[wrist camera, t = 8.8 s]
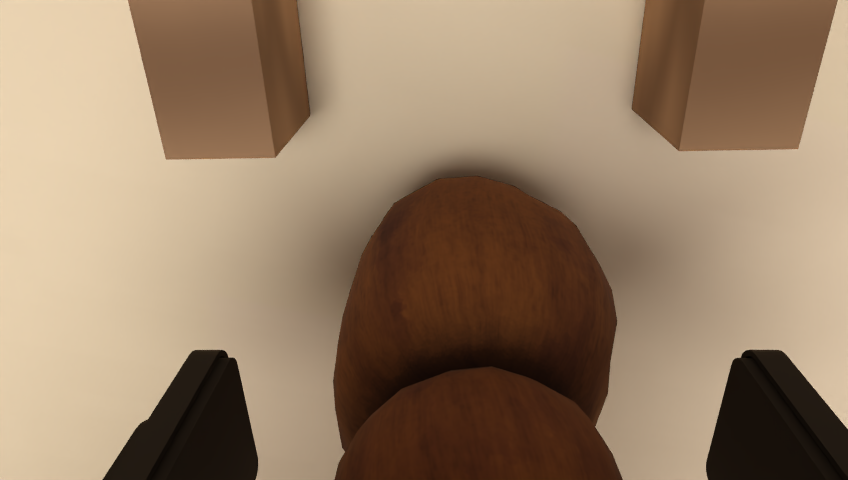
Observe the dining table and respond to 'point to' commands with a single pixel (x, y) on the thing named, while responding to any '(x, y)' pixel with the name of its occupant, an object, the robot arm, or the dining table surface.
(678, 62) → the u rest
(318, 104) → the dining table surface
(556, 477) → the wooden figurine
